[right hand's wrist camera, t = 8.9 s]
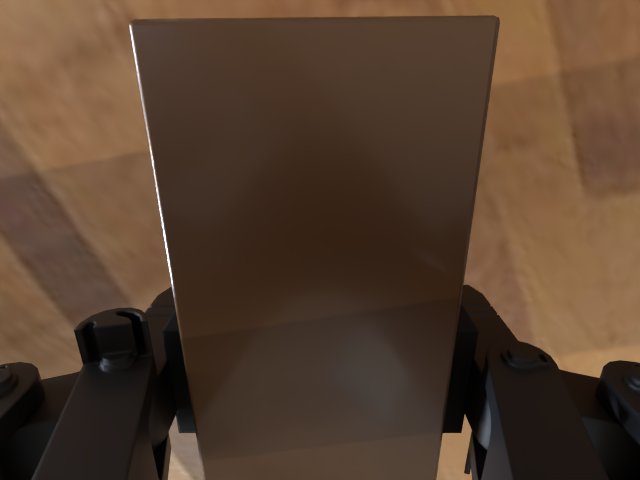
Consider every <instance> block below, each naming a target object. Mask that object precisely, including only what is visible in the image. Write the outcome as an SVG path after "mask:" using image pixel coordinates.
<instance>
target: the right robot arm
mask: <svg viewBox="0 0 640 480" xmlns="http://www.w3.org/2000/svg"><path fill="white" fill-rule="evenodd" d="M74 332H75V336H76V340H77V343H78V347H79V351H80V354H81V358H82V362H83V367H82V369H81V371H80V372H76V373H72V374H68V375H63V376H58V377H53V378H48V379H43V380H41V378H40V375H39V372H38V368H36V367H35V366H34V365H32V364H30V363H23V362H17V363H9V364H3V365H0V480H168V472H169V463H170V454H171V444H170V438H169V432H168V431H169V429H170V427H171V425H172V422H173V420H174V418H175V415H176V418H177V424H178V430H179V433H196V430H195V424H194V418H193V412H192V406H191V400H190V394H189V388H188V382H187V375H186V369H185V363H184V357H183V351H182V345H181V339H180V333H179V327H178V321H177V315H176V308H175V302H174V296H173V290H172V287H170V288H169V289H167V290H166V291H164V292H162V293H161V294H159V295H158V296H157V297H156V299H155V300H154V301H153V303H152V304H151V305H150V308H148V309H147V311H146V312H145V313H144V312H143V311H141V310H139V309H134V308H116V309H111V310H106V311H103V312H100V313H98V314H95V315H92V316H90V317H89V318H87V319H86V320H84V321H82V322H81V323H80V324H79V325H78V326H77V327H76V328H75V329H74ZM464 414H465V415H466V417H467V419H468V422H469V424H470V426H471V429H472V432H471V438H470V443H469V449H468V454H467V459H466V465H465V471H464V473H466V474H470V469H471V471H472V480H640V363H637V362H630V361H621V360H620V361H613V362H609V363H608V364H606V365H605V366H604V367H603V370H602V373H601V376H600V378H596V377H591V376H586V375H581V374H576V373H571V372H567V371H563V370H560V369H559V368H558V366H557V364H556V363H555V361H554V360H553V359H552V357H551V356H550V355H548V354H547V353H545V352H544V351H543V350H541V349H539V348H537V347H535V346H533V345H530V344H528V343H524V342H520V341H518V340H517V339H516V337H515V336H514V335H513V333H512V332H511V331H510V329H509V328H508V327H507V326H506V324H505V323H504V322H503V320H502V319H501V318H500V316H499V315H497V312H496V311H495V310H494V309H493V307H492V306H490V303H489V302H488V301H487V299H486V298H485V297H484V295H483V294H482V293H480V292H478V291H477V290H475V289H474V288H472V287H471V286H469V285H463V290H462V297H461V304H460V311H459V319H458V326H457V333H456V340H455V347H454V355H453V362H452V369H451V376H450V383H449V390H448V398H447V405H446V412H445V419H444V426H443V433H461V431H462V426H463V420H464Z"/></svg>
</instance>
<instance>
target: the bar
mask: <svg viewBox="0 0 640 480" xmlns="http://www.w3.org/2000/svg"><path fill="white" fill-rule="evenodd" d="M499 24H500V22H499V18H498V17H496V16H400V17H300V18H199V19H134V20H132V21H130V24H129V28H130V34H131V41H132V47H133V53H134V59H135V65H136V71H137V77H138V83H139V89H140V95H141V101H142V107H143V114H144V120H145V126H146V132H147V138H148V144H149V150H150V156H151V162H152V168H153V174H154V181H155V187H156V193H157V199H158V205H159V211H160V217H161V223H162V229H163V235H164V241H165V248H166V254H167V260H168V266H169V272H170V278H171V284H172V290H173V296H174V302H175V308H176V315H177V321H178V327H179V333H180V339H181V345H182V351H183V357H184V363H185V369H186V375H187V382H188V388H189V394H190V400H191V406H192V412H193V418H194V424H195V430H196V436H197V442H198V449H199V455H200V461H201V467H202V473H203V479H204V480H436V477H437V470H438V462H439V455H440V448H441V441H442V434H443V426H444V419H445V412H446V405H447V398H448V390H449V383H450V376H451V369H452V362H453V355H454V347H455V340H456V333H457V326H458V319H459V311H460V304H461V297H462V290H463V283H464V276H465V268H466V261H467V254H468V247H469V240H470V232H471V225H472V218H473V211H474V204H475V196H476V189H477V182H478V175H479V168H480V161H481V153H482V146H483V139H484V132H485V125H486V117H487V110H488V103H489V96H490V89H491V82H492V74H493V67H494V60H495V53H496V46H497V38H498V31H499Z"/></svg>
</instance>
